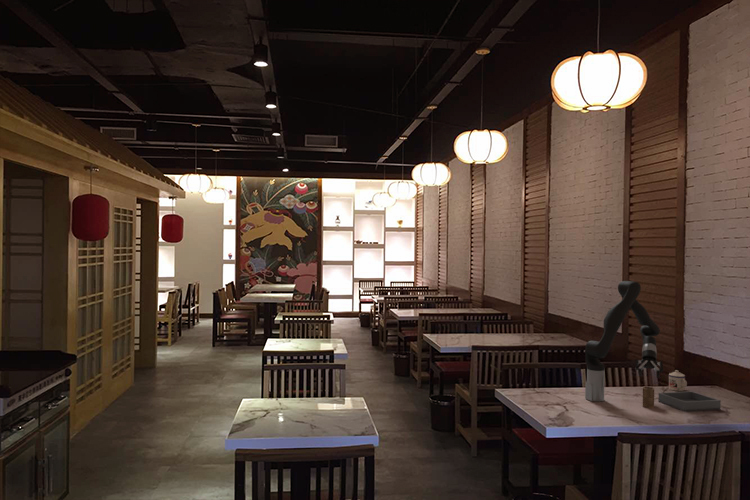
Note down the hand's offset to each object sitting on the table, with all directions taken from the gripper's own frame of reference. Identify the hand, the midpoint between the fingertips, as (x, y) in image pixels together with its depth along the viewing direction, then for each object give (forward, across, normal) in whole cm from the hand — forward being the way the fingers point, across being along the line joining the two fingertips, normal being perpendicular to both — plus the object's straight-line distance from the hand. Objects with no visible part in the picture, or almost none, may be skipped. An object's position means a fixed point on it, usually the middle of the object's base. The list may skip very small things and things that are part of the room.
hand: (648, 376), depth 316 cm
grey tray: (+9, +20, +11) cm, 24 cm away
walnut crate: (+18, 0, +2) cm, 18 cm away
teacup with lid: (-18, +16, +38) cm, 45 cm away
